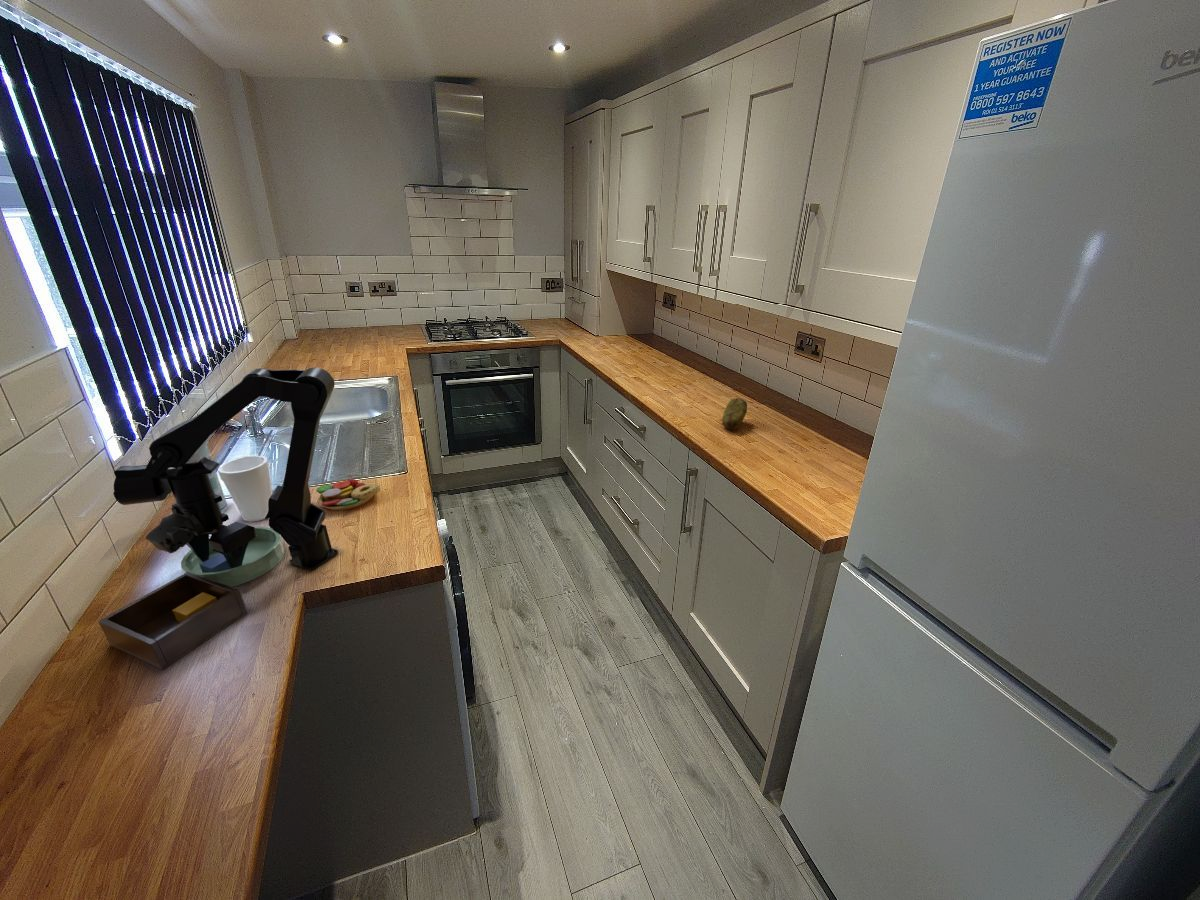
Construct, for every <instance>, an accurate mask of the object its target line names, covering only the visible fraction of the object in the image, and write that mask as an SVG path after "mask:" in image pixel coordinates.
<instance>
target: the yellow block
mask: <svg viewBox="0 0 1200 900" xmlns="http://www.w3.org/2000/svg"><path fill="white" fill-rule="evenodd" d="M215 601H217V598H216V597H215V596H212V595H209V594H206V593H204V592H202V593H200V594H199V595H197V596H195V597H194V598H192V599H190V600H189V601H187V602H185V603H184V604H182V605H180V606H178V607H177V608H175V609H173V612H174V615H175V617H176V619H177V621H178V622H183V621H185V620H186V619H188V618H189V617H191V616H193V615H194V614H196V613H198V612H199V611H201V610H202V609H204V608H206V607H207V606H209V605H210V604H212V603H214V602H215Z"/></svg>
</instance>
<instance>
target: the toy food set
mask: <svg viewBox="0 0 1200 900" xmlns="http://www.w3.org/2000/svg"><path fill="white" fill-rule="evenodd" d="M380 491H381V487H380V485H379V484H378V483H376V482H371V483H369V482H360V481H358V480H357V479H355V478H349V479H346V480H341V481H337V482H335V483H333V484H324V485H320V486H318V487H317V488H316V492H317V493H318V494H319V496H318V501H317V502H318V504H319V505H320V506H321V507H324V508H325V509H328V510H334V511H341V510H342V511H343V510H350V509H353V508H356V507H359V506H362V505H364V504H366V503H367V502H369V501H370V500H371V499H372V498H373V496H375V495H377V494H378V493H379V492H380Z"/></svg>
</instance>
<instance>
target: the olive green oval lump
mask: <svg viewBox="0 0 1200 900" xmlns="http://www.w3.org/2000/svg"><path fill="white" fill-rule="evenodd" d="M747 412H748V403H747V401H746V400H744V399H743V398H740V397H738V398H732V399H730V400H729V401H728V402H727V404H726V406H725V409H724V411H723V414H722V417H721V421H722V425H723V427H724V428H725V429H727V430H729V431H733V430H736V429H738V428H739V427H740V425H741V423H743V422H744V419H745V417H746V415H747Z"/></svg>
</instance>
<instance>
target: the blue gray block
mask: <svg viewBox="0 0 1200 900" xmlns="http://www.w3.org/2000/svg"><path fill="white" fill-rule="evenodd" d="M199 565H200V567H201V570H202V572H203V573H209V572H219V571H224V570H228V569H231V568H230V566H229V564H228V562H227V561H226V559H225V557H224V555H223V554H221V553H219V554H217V555H216V556H214V557H212V558H210V559H208V560H206V561H205V562H203V563H201V564H199Z"/></svg>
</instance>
